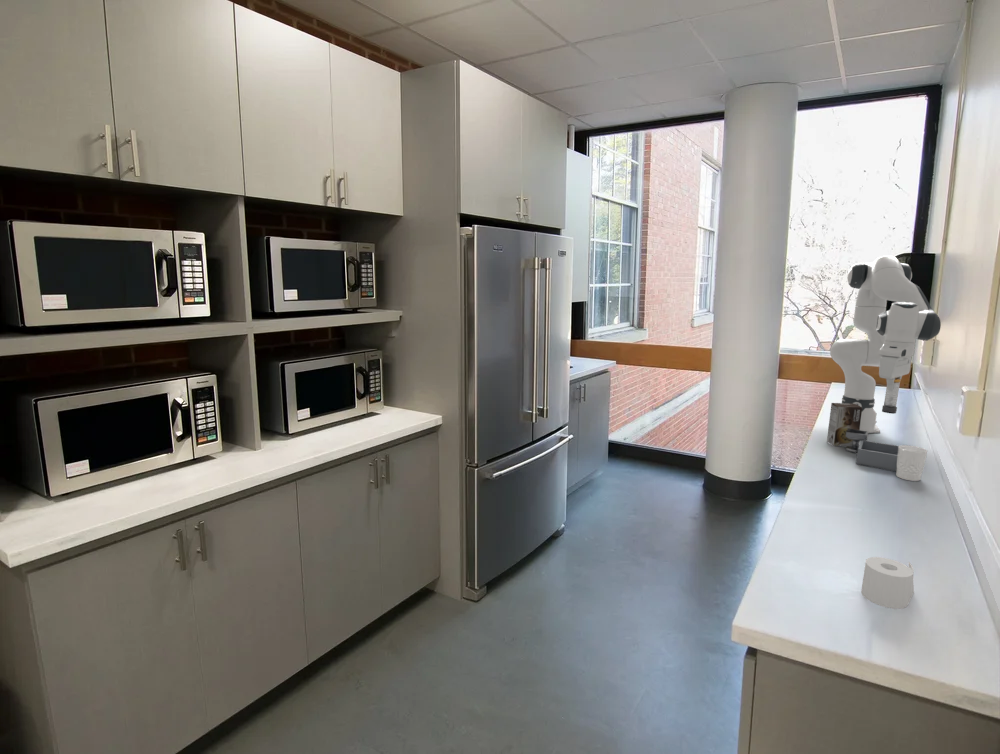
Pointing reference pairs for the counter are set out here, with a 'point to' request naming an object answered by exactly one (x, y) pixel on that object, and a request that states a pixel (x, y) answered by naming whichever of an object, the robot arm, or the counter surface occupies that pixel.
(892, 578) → the toilet paper
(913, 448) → the white cup
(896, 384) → the gold-capped metal cylinder
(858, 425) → the coffee box
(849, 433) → the grey capsule holder
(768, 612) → the counter surface
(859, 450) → the bin
